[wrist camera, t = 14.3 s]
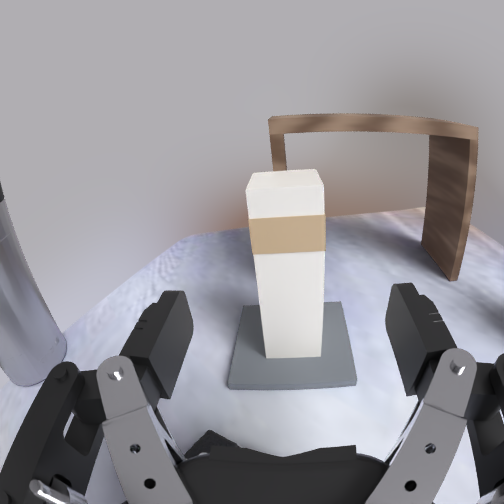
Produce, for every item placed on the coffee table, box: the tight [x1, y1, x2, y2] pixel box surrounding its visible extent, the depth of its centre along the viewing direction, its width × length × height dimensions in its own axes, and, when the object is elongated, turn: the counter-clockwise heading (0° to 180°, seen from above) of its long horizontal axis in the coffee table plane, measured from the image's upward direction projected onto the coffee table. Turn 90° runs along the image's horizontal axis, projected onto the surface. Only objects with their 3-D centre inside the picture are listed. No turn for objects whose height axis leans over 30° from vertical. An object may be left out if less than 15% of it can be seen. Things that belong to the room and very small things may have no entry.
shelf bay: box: [268, 114, 478, 281], centre depth 31 cm, size 22×10×18 cm, turn 84°
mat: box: [228, 302, 357, 390], centre depth 25 cm, size 10×10×1 cm
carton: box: [246, 169, 326, 358], centre depth 22 cm, size 5×5×14 cm
